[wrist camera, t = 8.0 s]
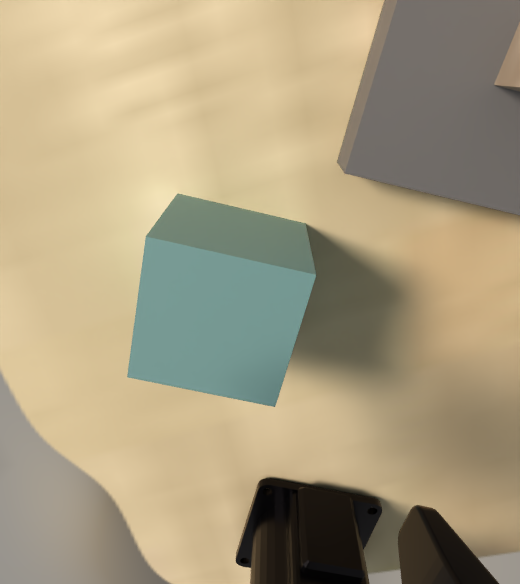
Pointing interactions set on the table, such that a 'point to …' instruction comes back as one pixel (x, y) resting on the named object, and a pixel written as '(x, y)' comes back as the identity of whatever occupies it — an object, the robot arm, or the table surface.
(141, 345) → the teal block
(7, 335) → the table surface
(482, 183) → the base board
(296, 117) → the table surface
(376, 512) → the robot arm
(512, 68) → the cream block
